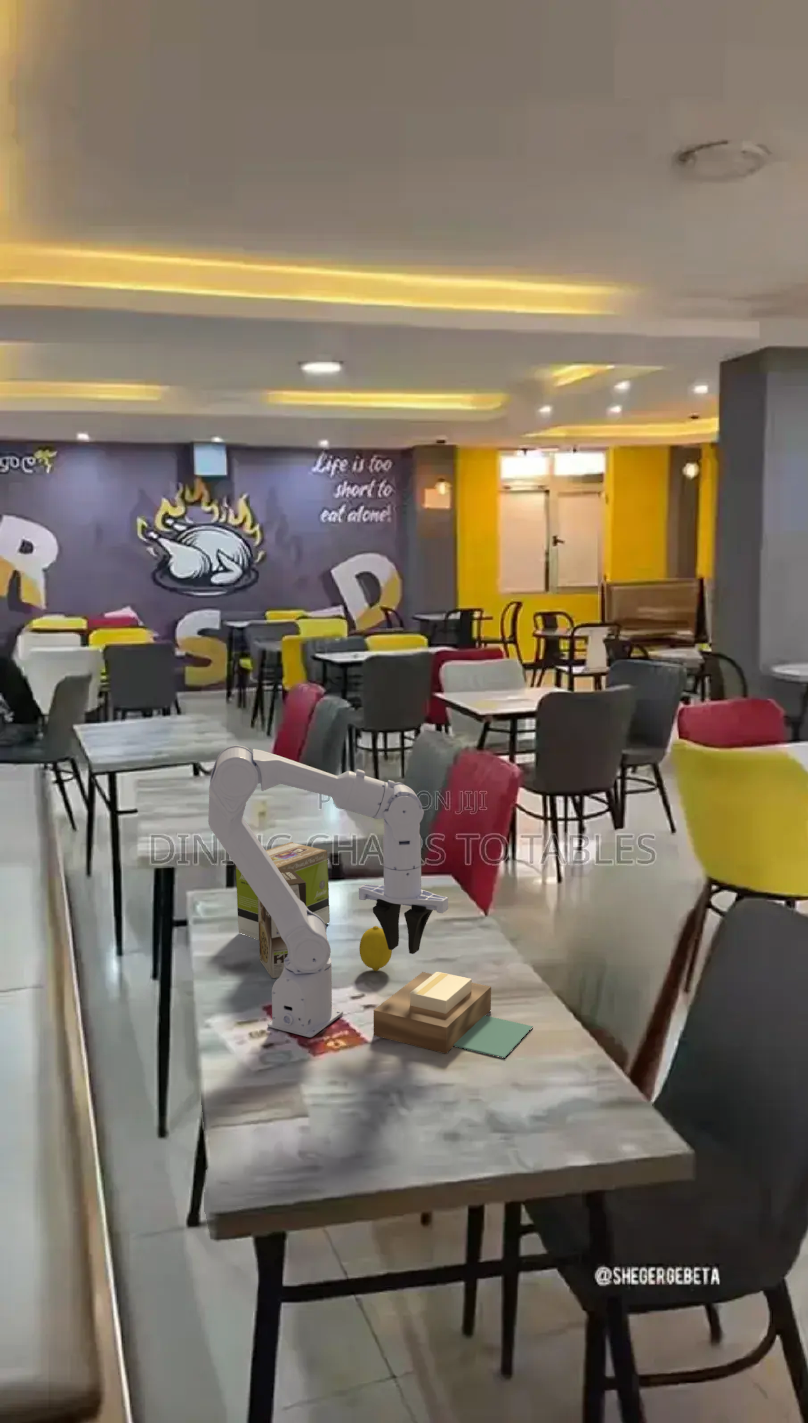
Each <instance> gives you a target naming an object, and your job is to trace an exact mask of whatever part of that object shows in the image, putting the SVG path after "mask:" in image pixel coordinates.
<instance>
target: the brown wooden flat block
mask: <svg viewBox="0 0 808 1423" xmlns="http://www.w3.org/2000/svg"><path fill="white" fill-rule="evenodd" d="M433 974H434V973H429V972H426V971H425V972H424V971H422V972H421V973H419V974H418V975H417V976H415V977H414V978H413V979H412V980H410V981H409V982H408V983H406V984H405V985H404V986H403V987H401V988H400V989H399V990H397V991H396V992H395V993H394V994H392V995H391V996H390V997H388V998H387V999H386V1000H385V1001H384V1002H382V1003H380V1004H379V1006H377V1007H375V1008H374V1009H373V1036H375V1037H378V1038H382V1039H386V1040H391V1041H395V1042H398V1043H403V1044H407V1045H411V1046H414V1047H418V1048H422V1049H426V1050H430V1051H434V1052H437V1053H438V1052H439V1053H442V1054H448V1052H449V1051H451V1050H452V1049H453V1048H454V1047H453V1046H454V1044H455V1043H456V1042H457V1041H458V1040H459V1039H460V1038H461V1037H462V1036H463V1035H464V1034H465V1033H466V1032H467V1031H468V1030H469V1029H470V1028H471V1027H473V1026H474V1025H475V1024H476V1023H477V1022H478V1021H479V1020H480V1019H481V1018H482V1017H483V1016H484V1015H486V1014H487V1013H488V1014H489V1013H490V1012H491V1011H492V986H490V985H484V984H482V983H476V982H472V991H471V992H470V993H469V994H468V995H467V996H466V997H464V998H463V999H462V1000H461V1001H460V1002H459V1003H458V1004H457V1005H455V1006H454V1007H453V1008H452V1009H451V1010H450V1011H449V1012H447V1013H446V1014H445V1013H441V1012H436V1011H432V1010H428V1009H424V1008H419V1007H415V1006H411V1005H410V992H412V991H413V990H414V989H415V988H417V987H418V986H419V985H420V984H422V983H423V982H424V981H425V980H427V979H428V978H429V977H430V976H432V975H433ZM490 1010H491V1011H490ZM489 1011H490V1012H489ZM488 1014H487V1015H488ZM487 1015H486V1016H487ZM452 1047H453V1048H452ZM451 1048H452V1049H451ZM450 1049H451V1050H450Z"/></svg>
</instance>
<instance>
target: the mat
mask: <svg viewBox="0 0 808 1423" xmlns="http://www.w3.org/2000/svg"><path fill="white" fill-rule="evenodd" d="M532 1027H533V1028H534V1026H533V1025H529V1024H526V1023H525V1024H524V1023H520V1022H517V1021H511V1020H507V1019H502V1018H499V1017H495V1016H490V1015H484V1016H483V1017H482V1018H481V1019H480V1020H479V1021H478V1022H477V1023H476V1024H475V1025H474V1026H473V1027H471V1028H470V1029H469V1030H468V1031H467V1032H466V1033H465V1034H464V1035H463V1036H462V1037H461V1038H460V1039H459V1040H458V1041H457V1042H456V1043H455V1044H454V1046H456V1047H455V1048H458V1047H459V1049H462V1048H464V1049H463V1050H466V1049H467V1050H466V1051H470V1050H472V1051H471V1052H474V1051H476V1052H475V1053H479V1054H482V1053H483V1055H486V1054H490V1055H494V1056H499V1057H503V1058H505V1057H506V1056H507V1055H508V1054H509V1053H510V1051H511V1050H512V1049H513V1048H514V1047H515V1046H516V1045H517V1044H518V1043H519V1042H520V1041H521V1039H522V1038H523V1037H524V1036H525V1035H526V1034H527V1033H528V1031H529V1030H530V1029H531V1028H532ZM528 1034H529V1033H528ZM528 1034H527V1035H528ZM527 1035H526V1036H527ZM526 1036H525V1037H526ZM525 1037H524V1038H525ZM524 1038H523V1039H524ZM523 1039H522V1040H523ZM521 1042H522V1041H521ZM521 1042H520V1043H521ZM520 1043H519V1044H520ZM519 1044H518V1045H519ZM518 1045H517V1046H518ZM517 1046H516V1047H517ZM516 1047H515V1048H516ZM515 1048H514V1049H515ZM514 1049H513V1050H514ZM513 1050H512V1051H513ZM512 1051H511V1052H512ZM510 1054H511V1053H510ZM510 1054H509V1055H510ZM490 1055H489V1056H490ZM509 1055H508V1056H509ZM494 1056H493V1057H494ZM508 1056H507V1057H508ZM507 1057H506V1058H507ZM506 1058H505V1059H506Z"/></svg>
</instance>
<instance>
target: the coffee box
mask: <svg viewBox="0 0 808 1423" xmlns="http://www.w3.org/2000/svg"><path fill="white" fill-rule="evenodd" d="M279 871H280V873H281V874H282V876H283V877H284V879H285V880H286V881H287V883H288V884H289V886H290V887H291V889H292V890H293V892H294V893H295V895H296V896H297V898H298V899H300V900H301V901H302V902H303V903H304V904H305V906H306V882H305V881H304V880H303V879H302V878H301V877H300V876H299V875H298V874H297V873H296V872H295V871H293V870H292V869H291V868H289V869H280V870H279ZM258 921H259V940H258V943H259V944H258V945H259V946H258V949H259V952H258V954H259V961H260V963H261V964H262V965H263V967H264V968H265V970H266V971H267V973H268V974H269V976H270V977H271V978H272V979H278V978H279V977H280V976H281V974H282V972H283V969H284V959H285V958H286V957H287V955H288V949H287V946H286V944H285V942H284V941H283V939H282V938H281V935H280V933H279V931H278V929H277V926H276V924H275V922H274V920H273V919H272V917H271V916H270V914H269V913H268V911H267V910H266V908H265V907H264V906H263V904H262V903H261V901H260V900H259V898H258Z"/></svg>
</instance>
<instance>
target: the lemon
mask: <svg viewBox="0 0 808 1423" xmlns="http://www.w3.org/2000/svg"><path fill="white" fill-rule="evenodd" d="M359 942H360V943H359V948H358V949H359V956H360V959H361V962H362V964H364V965H365V966H366V967H368V968H370V969H372V970H373V971H374V972H378V971H379V970H380V969H381V968H384V967H386V965H388V963H389V962H390V960H391V957H392V954H393V950H389V949H388V945H387V941H386V938H385V935H384V932H383V929H382V927H379V926H378V925H374V926H373V927H370V928H368V929H367V930H366V931H364V933H362V935H361V939H360V941H359Z"/></svg>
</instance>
